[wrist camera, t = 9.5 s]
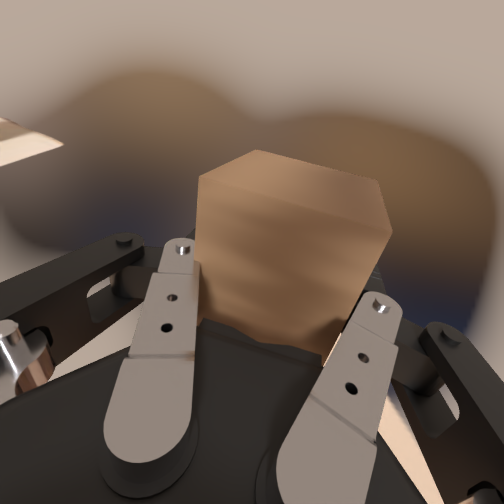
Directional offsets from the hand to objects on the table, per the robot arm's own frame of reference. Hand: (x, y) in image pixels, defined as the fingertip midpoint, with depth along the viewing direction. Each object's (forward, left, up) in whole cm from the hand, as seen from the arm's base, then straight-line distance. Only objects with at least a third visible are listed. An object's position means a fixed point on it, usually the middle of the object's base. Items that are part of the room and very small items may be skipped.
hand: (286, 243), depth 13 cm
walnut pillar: (0, -3, -6) cm, 7 cm away
